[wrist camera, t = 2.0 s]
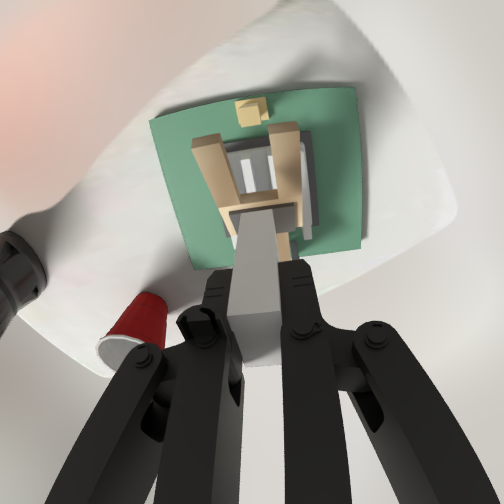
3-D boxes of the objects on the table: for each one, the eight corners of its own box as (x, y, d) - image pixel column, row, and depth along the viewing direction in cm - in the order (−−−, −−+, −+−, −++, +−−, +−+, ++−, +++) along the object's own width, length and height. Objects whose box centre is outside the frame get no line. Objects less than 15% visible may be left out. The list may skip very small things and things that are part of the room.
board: (196, 263, 38) (181, 311, 30) (153, 118, 27) (114, 133, 19) (357, 242, 35) (380, 288, 27) (350, 87, 24) (386, 88, 16)
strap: (255, 282, 31) (256, 292, 30) (192, 138, 12) (190, 153, 12) (301, 277, 30) (302, 286, 30) (296, 120, 12) (300, 134, 11)
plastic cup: (194, 322, 44) (181, 384, 34) (143, 329, 46) (123, 383, 36) (165, 273, 39) (139, 336, 29) (111, 285, 41) (81, 340, 31)
